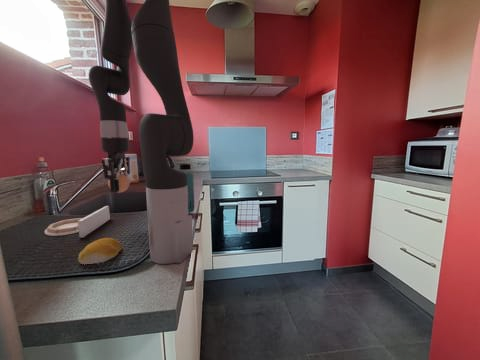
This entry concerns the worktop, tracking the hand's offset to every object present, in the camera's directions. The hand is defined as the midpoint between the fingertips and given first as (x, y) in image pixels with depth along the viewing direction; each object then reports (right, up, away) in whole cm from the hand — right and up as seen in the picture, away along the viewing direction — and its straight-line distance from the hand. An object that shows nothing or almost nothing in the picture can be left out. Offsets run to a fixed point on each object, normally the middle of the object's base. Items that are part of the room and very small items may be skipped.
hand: (119, 189), depth 69 cm
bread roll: (+5, -16, -17) cm, 24 cm away
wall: (-8, -12, +1) cm, 15 cm away
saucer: (-16, -12, 0) cm, 20 cm away
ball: (0, +2, 0) cm, 2 cm away
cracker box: (-42, 0, +84) cm, 94 cm away
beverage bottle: (+18, -11, +15) cm, 26 cm away
